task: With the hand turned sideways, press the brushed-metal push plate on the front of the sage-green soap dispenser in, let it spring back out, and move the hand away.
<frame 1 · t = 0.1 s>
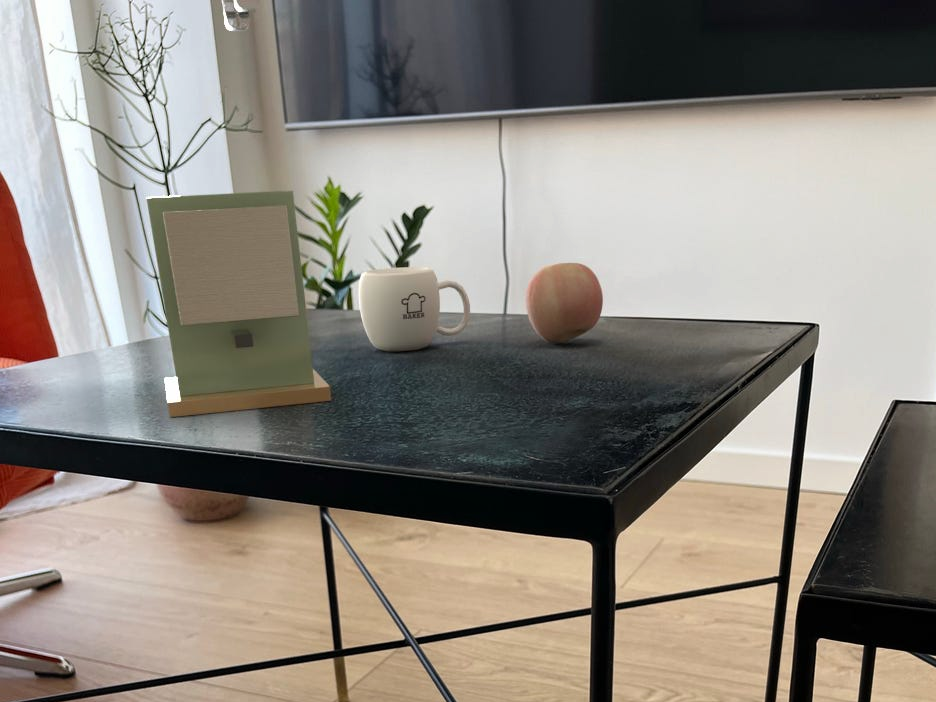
hand: (243, 20, 74), 27 cm above the table, tool pointing down, fingers open, 8 cm apart
push plate: (232, 265, 77), point 11 cm above the table, slide at 0.0 cm
mug: (418, 348, 109), on the table
apple: (564, 345, 106), on the table
dispenser: (245, 396, 88), on the table
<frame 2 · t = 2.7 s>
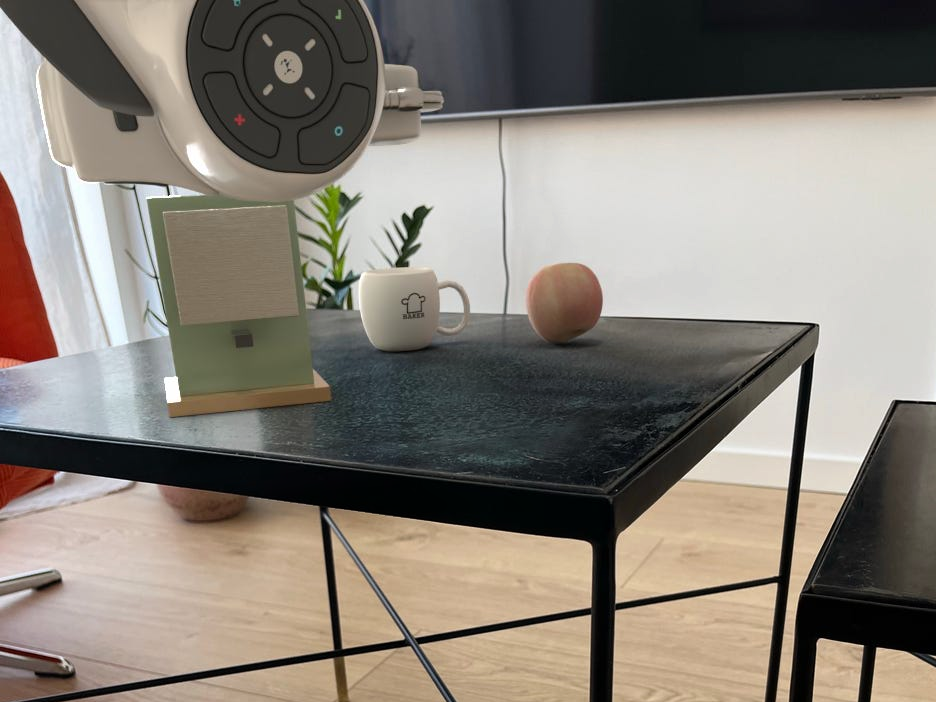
hand: (228, 122, 62), 20 cm above the table, tool horizontal, fingers open, 6 cm apart
nothing on the table moved.
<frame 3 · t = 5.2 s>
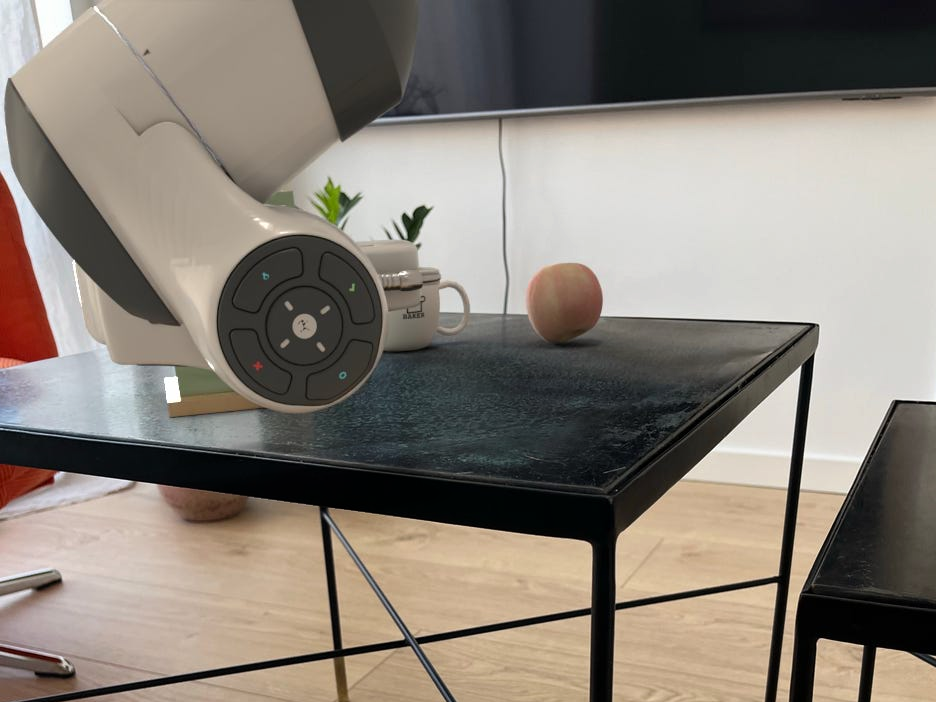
hand: (243, 273, 67), 11 cm above the table, tool horizontal, fingers closed
nothing on the table moved.
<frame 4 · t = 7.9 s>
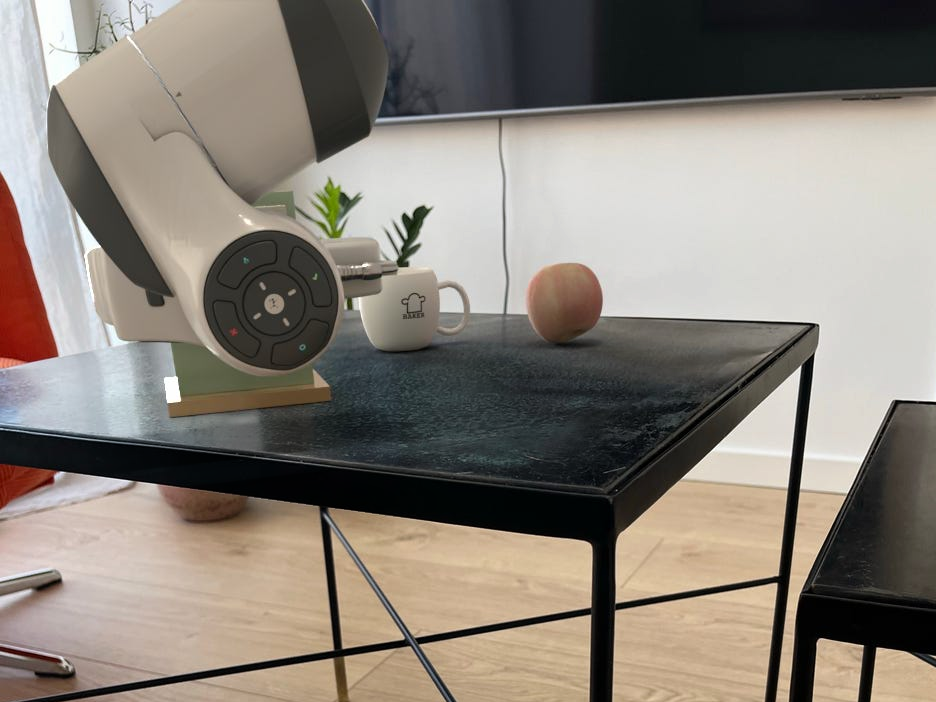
hand: (231, 266, 77), 11 cm above the table, tool horizontal, fingers closed, pressing on push plate
push plate: (232, 264, 78), point 11 cm above the table, slide at 0.6 cm, touching gripper
everything else where it was.
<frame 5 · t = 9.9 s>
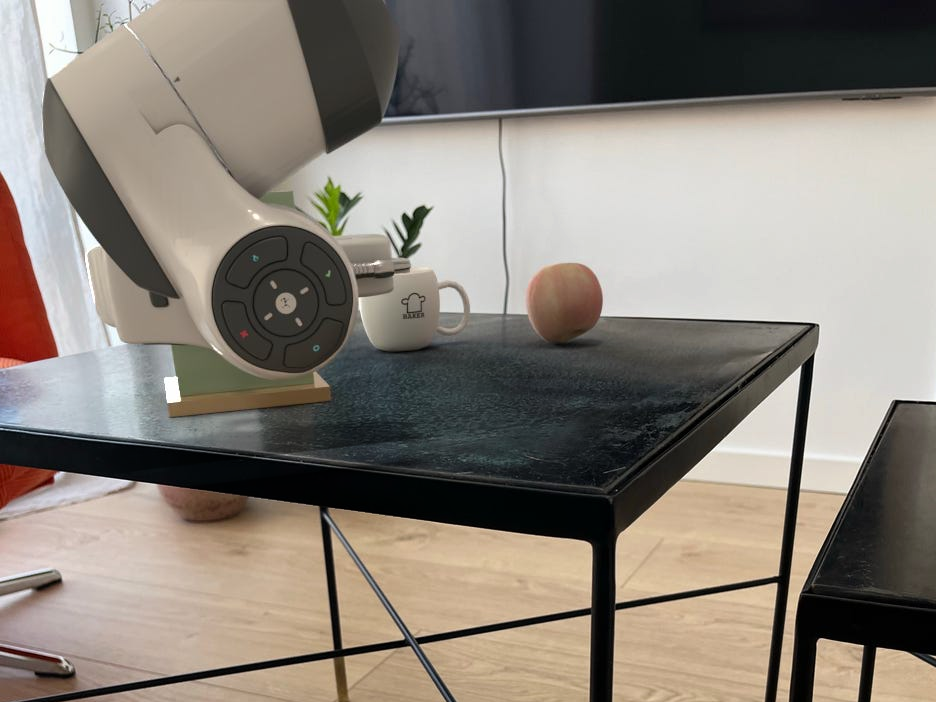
hand: (237, 265, 75), 11 cm above the table, tool horizontal, fingers closed
push plate: (232, 265, 77), point 11 cm above the table, slide at 0.0 cm
everything else where it was.
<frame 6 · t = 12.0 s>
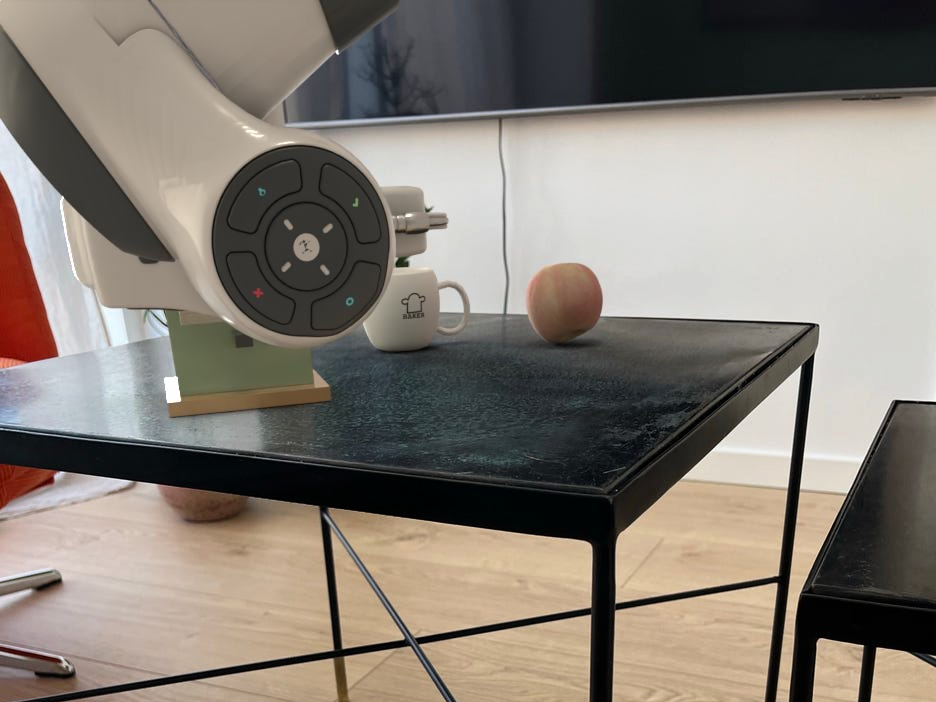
hand: (240, 224, 64), 14 cm above the table, tool horizontal, fingers closed
nothing on the table moved.
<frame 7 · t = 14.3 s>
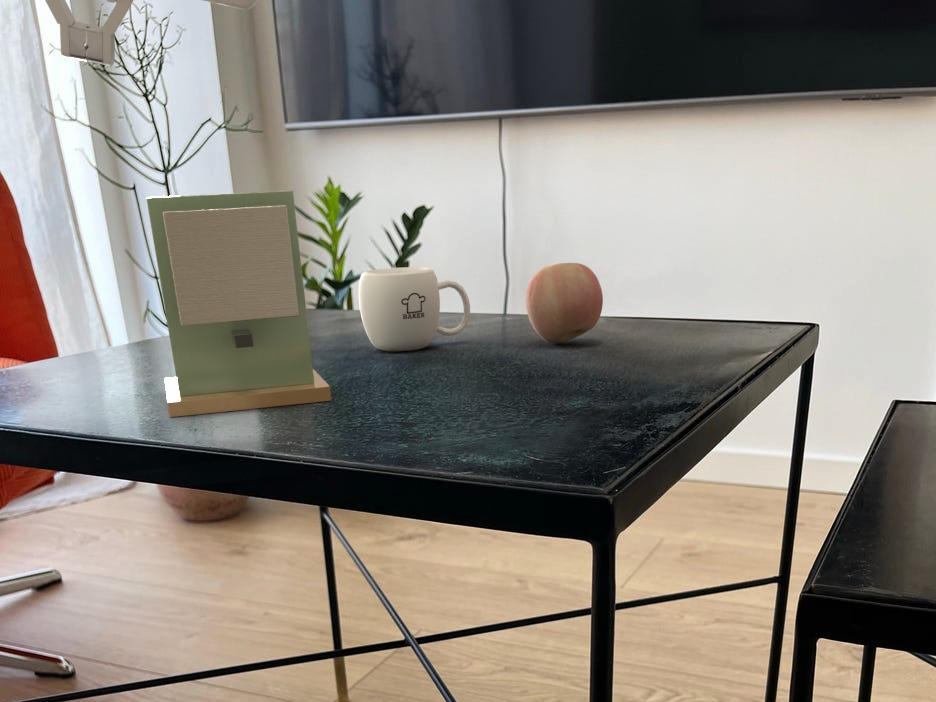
hand: (88, 60, 62), 24 cm above the table, tool tilted 20°, fingers closed
nothing on the table moved.
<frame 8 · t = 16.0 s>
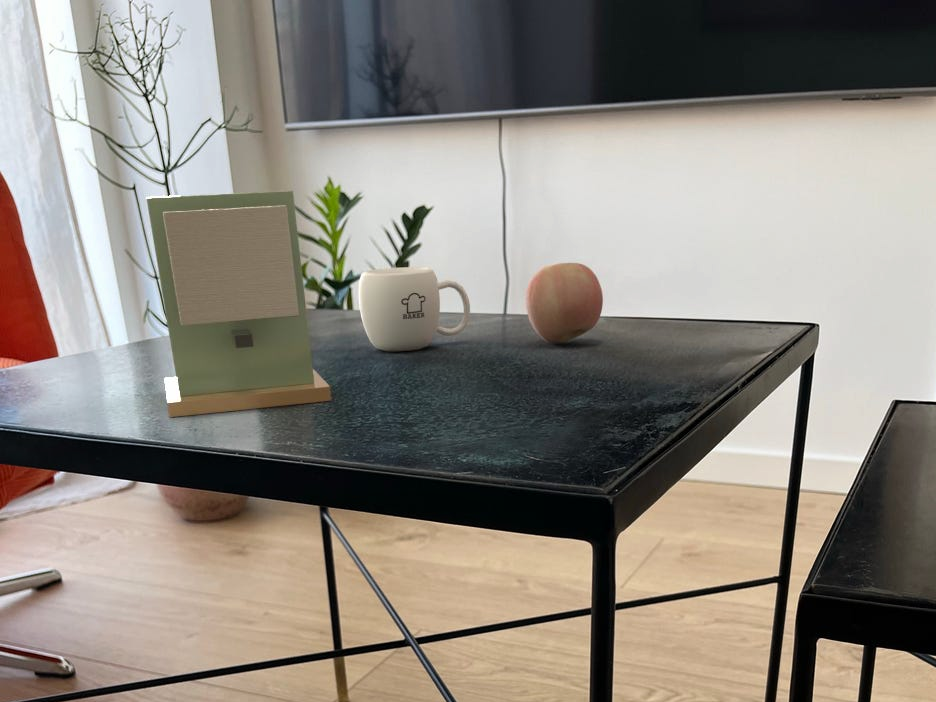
nothing on the table moved.
at the end: push plate pulled out 1.2 cm at the most during the clip, back to where it started at the end; push plate slide at 0.0 cm; mug moved 0.2 cm from its start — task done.
